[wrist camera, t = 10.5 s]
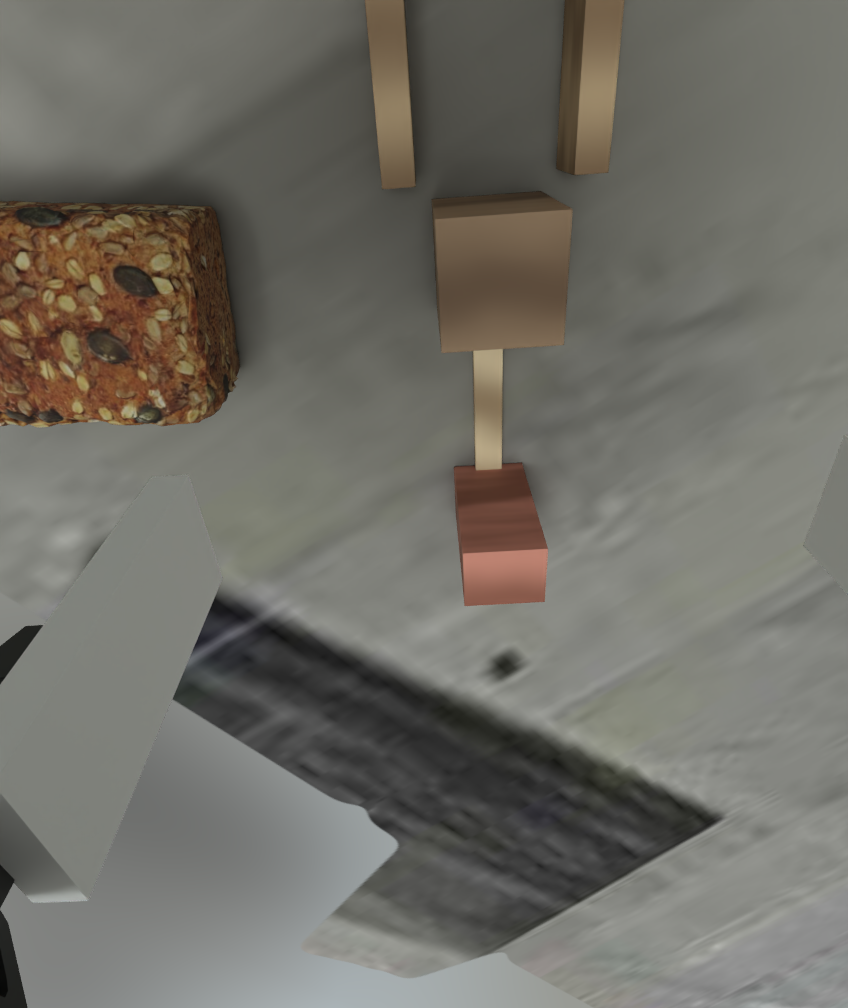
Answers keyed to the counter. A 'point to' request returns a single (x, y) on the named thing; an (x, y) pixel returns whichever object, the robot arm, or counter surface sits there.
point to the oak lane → (582, 91)
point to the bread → (113, 314)
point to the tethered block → (499, 369)
